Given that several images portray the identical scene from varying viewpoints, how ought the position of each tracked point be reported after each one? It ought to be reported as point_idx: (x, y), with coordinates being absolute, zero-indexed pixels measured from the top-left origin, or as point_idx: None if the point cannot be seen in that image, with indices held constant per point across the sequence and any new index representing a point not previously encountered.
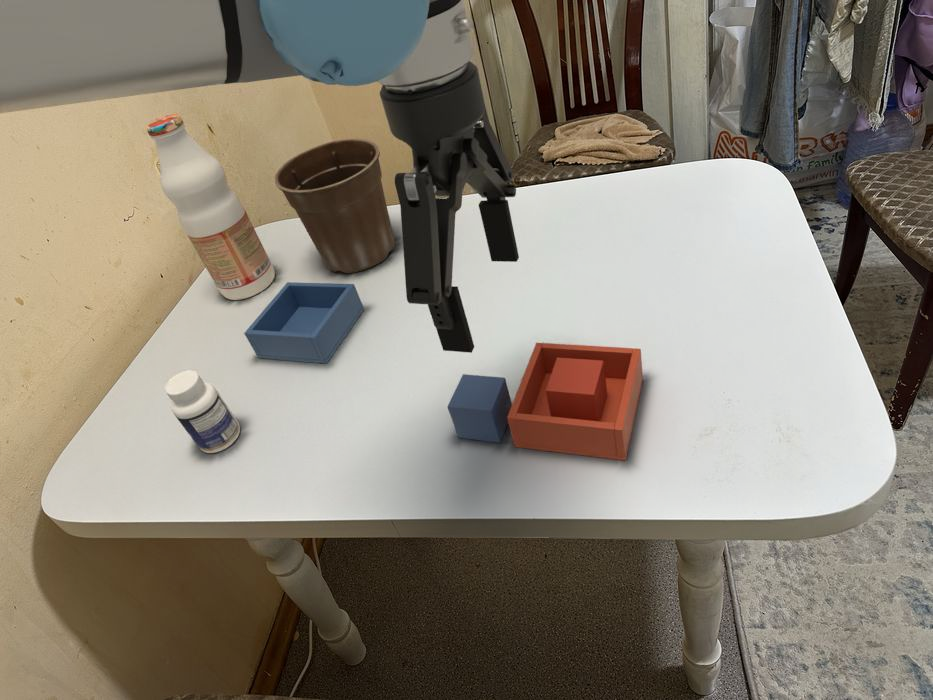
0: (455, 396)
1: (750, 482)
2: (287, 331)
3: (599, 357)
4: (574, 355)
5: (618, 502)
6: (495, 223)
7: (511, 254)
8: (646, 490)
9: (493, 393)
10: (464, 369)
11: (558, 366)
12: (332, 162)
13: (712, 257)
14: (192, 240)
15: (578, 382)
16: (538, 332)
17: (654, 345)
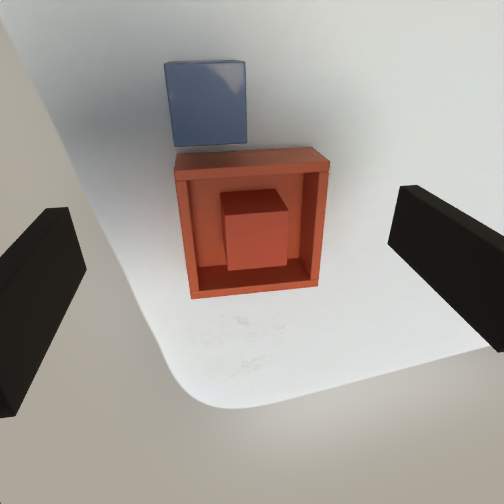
0: (190, 69)
1: (196, 353)
2: None
3: (309, 240)
4: (311, 212)
5: (140, 277)
6: (463, 272)
7: (399, 244)
8: (163, 294)
9: (210, 137)
10: (313, 9)
11: (271, 218)
12: None
13: None
14: None
15: (245, 249)
16: (392, 115)
17: (356, 259)
